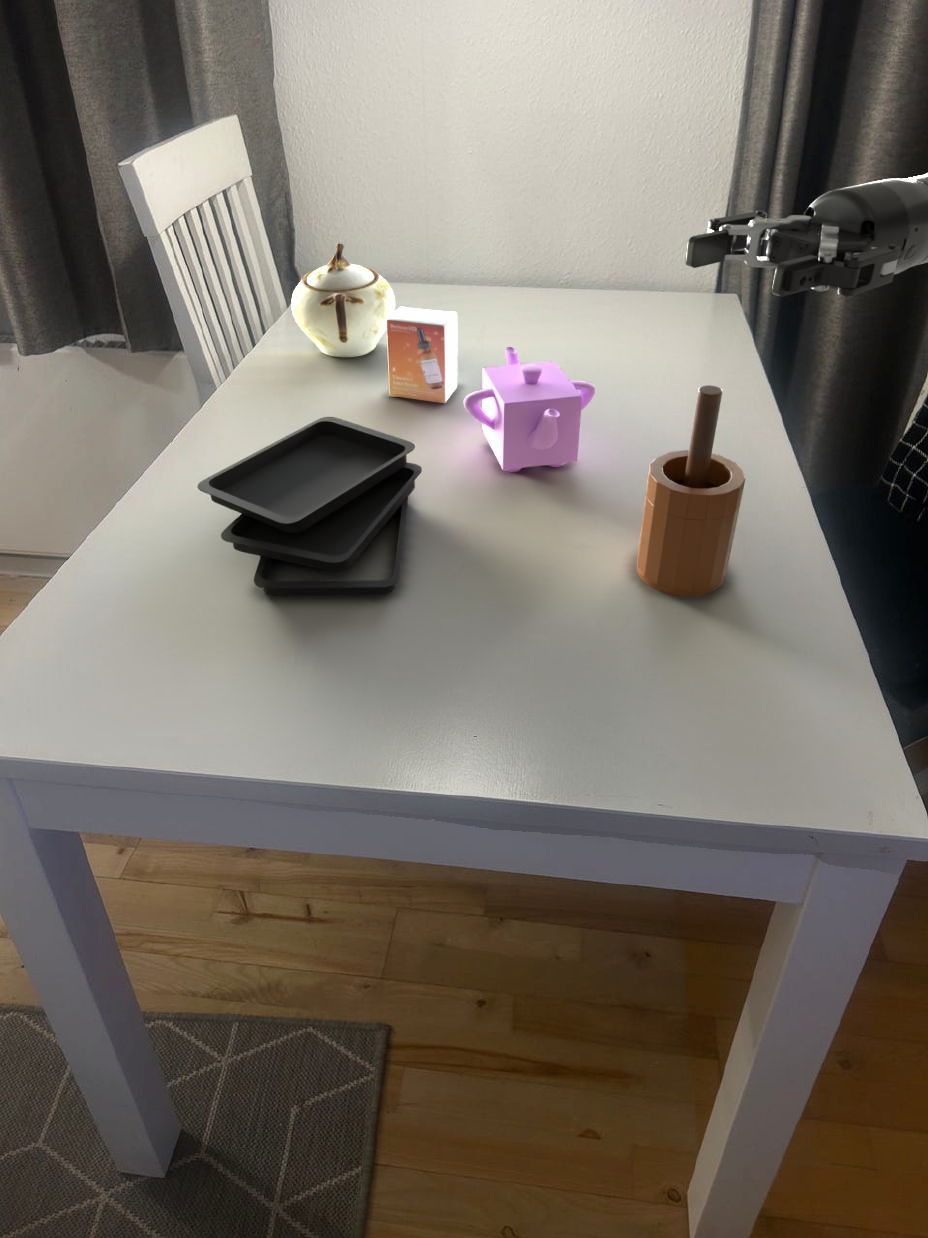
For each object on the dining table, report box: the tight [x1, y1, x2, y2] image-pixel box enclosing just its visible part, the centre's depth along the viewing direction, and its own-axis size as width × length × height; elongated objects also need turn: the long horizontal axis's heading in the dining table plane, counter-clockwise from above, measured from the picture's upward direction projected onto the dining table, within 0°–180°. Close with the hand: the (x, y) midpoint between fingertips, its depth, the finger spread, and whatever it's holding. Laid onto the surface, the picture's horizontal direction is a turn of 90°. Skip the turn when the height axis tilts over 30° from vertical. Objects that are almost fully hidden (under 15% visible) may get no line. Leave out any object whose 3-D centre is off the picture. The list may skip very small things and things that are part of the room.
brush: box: [683, 384, 723, 489], centre depth 83 cm, size 3×3×18 cm
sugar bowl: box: [290, 242, 396, 358], centre depth 131 cm, size 20×15×15 cm
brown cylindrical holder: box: [636, 449, 746, 597], centre depth 85 cm, size 8×8×11 cm
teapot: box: [463, 346, 596, 473], centre depth 105 cm, size 15×13×11 cm
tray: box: [196, 416, 423, 596], centre depth 95 cm, size 30×23×5 cm
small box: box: [386, 305, 458, 404], centre depth 120 cm, size 8×6×10 cm
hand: (731, 266), depth 67 cm, fingers open, 8 cm apart
